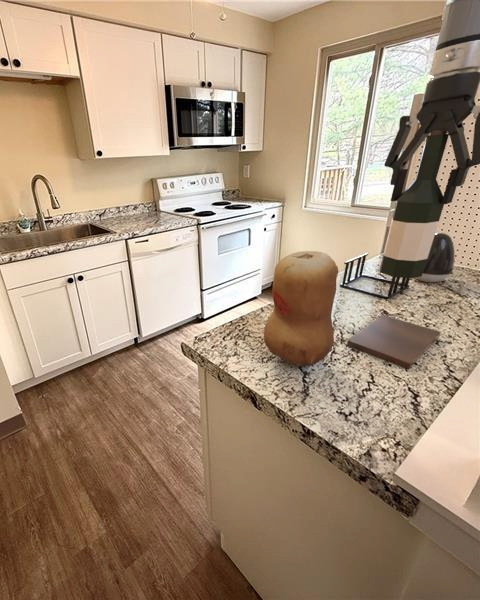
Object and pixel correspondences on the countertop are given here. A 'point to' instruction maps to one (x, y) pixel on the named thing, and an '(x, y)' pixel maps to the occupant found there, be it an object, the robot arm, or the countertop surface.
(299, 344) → the butternut squash
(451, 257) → the pump dispenser
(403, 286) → the dish rack
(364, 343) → the cutting board
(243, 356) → the countertop surface
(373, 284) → the countertop surface
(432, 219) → the wine bottle
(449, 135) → the robot arm
